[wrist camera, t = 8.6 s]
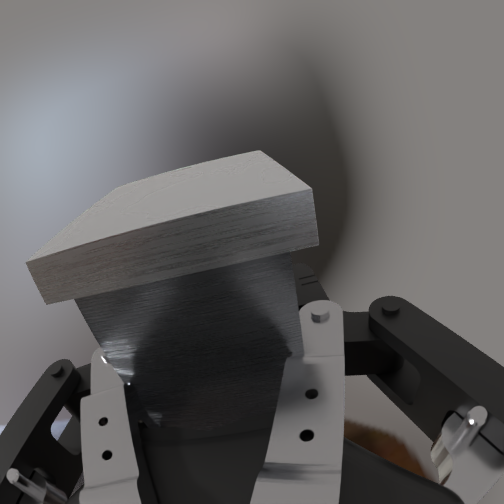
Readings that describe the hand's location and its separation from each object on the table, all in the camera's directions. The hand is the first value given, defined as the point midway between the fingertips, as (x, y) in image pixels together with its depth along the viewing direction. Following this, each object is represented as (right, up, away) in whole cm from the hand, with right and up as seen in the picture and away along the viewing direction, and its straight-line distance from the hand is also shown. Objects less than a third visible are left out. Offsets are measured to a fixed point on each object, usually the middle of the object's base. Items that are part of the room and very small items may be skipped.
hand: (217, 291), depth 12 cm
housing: (+1, -6, 0) cm, 7 cm away
